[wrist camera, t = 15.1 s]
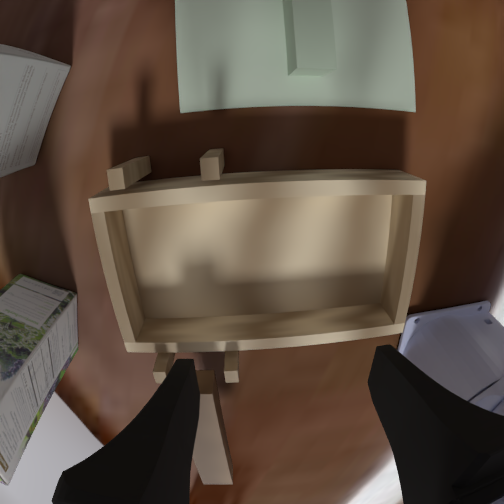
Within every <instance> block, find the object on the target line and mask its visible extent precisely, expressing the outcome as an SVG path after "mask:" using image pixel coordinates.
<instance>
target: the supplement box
mask: <svg viewBox="0 0 504 504" xmlns="http://www.w3.org/2000/svg"><path fill="white" fill-rule="evenodd" d="M70 68H71V66H70V65H68V64H65V63H62V62H59V61H57V60H54V59H51V58H48V57H45V56H42V55H39V54H36V53H33V52H30V51H27V50H24V49H20V48H16V47H12V46H8V45H3V44H0V177H3V176H6V175H9V174H11V173H13V172H16V171H19V170H21V169H24V168H27V167H30V166H33V165H35V163H36V160H37V156H38V153H39V150H40V147H41V143H42V140H43V137H44V134H45V131H46V128H47V125H48V122H49V119H50V117H51V114H52V111H53V109H54V106H55V103H56V101H57V98H58V96H59V93H60V91H61V89H62V86H63V84H64V81H65V79H66V77H67V75H68V73H69V70H70Z"/></svg>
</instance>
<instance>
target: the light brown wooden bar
mask: <svg viewBox="0 0 504 504" xmlns="http://www.w3.org/2000/svg"><path fill="white" fill-rule="evenodd" d="M196 376H197V381H198V386H199V391H200V411H199V421H198V427H197V433H196V438H195V444H194V450H193V456H192V457H193V459H194V462H195V464H196V467H197V469H198V472H199V474H200V477H201V479H202V482H203V484H233V465H232V460H231V455H230V450H229V446H228V441H227V436H226V431H225V426H224V421H223V416H222V410H221V405H220V400H219V394H218V389H217V383H216V378H215V372H214V370H196Z"/></svg>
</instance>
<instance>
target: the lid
mask: <svg viewBox="0 0 504 504" xmlns="http://www.w3.org/2000/svg"><path fill="white" fill-rule="evenodd" d="M175 19H176V48H177V69H178V86H179V101H180V113H187V112H196V111H205V110H216V109H229V108H244V107H265V106H341V107H362V108H377V109H389V110H400V111H409V112H416V109H415V82H414V66H413V54H412V43H411V34H410V26H409V18H408V11H407V4H406V0H175Z"/></svg>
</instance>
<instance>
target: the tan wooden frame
mask: <svg viewBox="0 0 504 504" xmlns="http://www.w3.org/2000/svg"><path fill="white" fill-rule="evenodd" d="M224 166H225V163H224V148H220V149H209V150H208V151H207V152H206V153H205V154H204V155H203V156H202V157H201V158H200V168H201V175H200V176H188V177H178V178H168V179H158V180H149V181H141V182H136V181H138V180H140V179H141V178H143V177H144V176H146V175H147V174H149V173H151V164H150V156H143V157H137V158H134V159H132V160H129V161H127V162H124V163H122V164H120V165H117V166H115V167H112V168H110V169H108V170H107V175H108V183H109V187H108V188H106V189H104V190H103V191H101V192H99V193H98V194H96V195H94V196H92V197H91V198H89V205H90V210H91V216H92V221H93V226H94V231H95V236H96V240H97V245H98V249H99V254H100V258H101V262H102V267H103V271H104V275H105V278H106V282H107V286H108V290H109V294H110V297H111V301H112V304H113V308H114V311H115V315H116V318H117V321H118V324H119V328H120V331H121V334H122V337H123V340H124V343H125V346H126V349H127V352H158V355H157V358H156V362H155V365H154V369H153V375H154V378H155V381H156V383H162V382H163V381H164V379H165V378H166V376H167V374H168V373H169V371H170V370H171V368H172V365H173V361H174V357H175V352H216V351H225V360H224V375H225V381H226V383H233V382H239V350H255V349H270V348H283V347H295V346H305V345H315V344H324V343H333V342H342V341H350V340H357V339H364V338H372V337H378V336H385V335H391V334H397V333H403V329H404V325H405V320H406V316H407V312H408V307H409V302H410V297H411V292H412V287H413V282H414V276H415V270H416V264H417V258H418V252H419V245H420V237H421V230H422V221H423V212H424V202H425V190H426V180H423V179H421V178H418V177H416V176H413V175H411V174H408V173H406V172H403V171H400V170H384V169H314V170H281V171H259V172H241V173H226V174H222V171H223V168H224Z"/></svg>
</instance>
